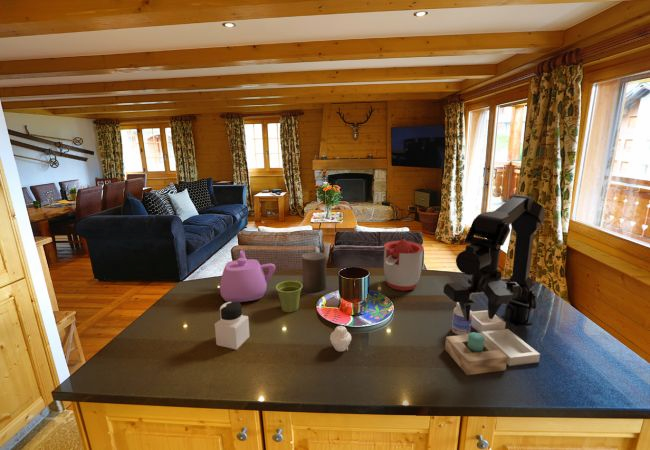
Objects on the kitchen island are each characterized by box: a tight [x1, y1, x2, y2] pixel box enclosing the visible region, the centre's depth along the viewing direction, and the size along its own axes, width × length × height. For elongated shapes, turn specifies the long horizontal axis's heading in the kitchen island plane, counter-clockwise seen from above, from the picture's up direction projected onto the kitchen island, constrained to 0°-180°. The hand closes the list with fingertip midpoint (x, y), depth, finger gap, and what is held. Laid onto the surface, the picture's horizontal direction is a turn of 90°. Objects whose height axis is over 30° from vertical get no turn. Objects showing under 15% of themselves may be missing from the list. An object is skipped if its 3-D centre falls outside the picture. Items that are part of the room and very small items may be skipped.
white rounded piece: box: [329, 325, 352, 352], centre depth 95 cm, size 6×6×7 cm
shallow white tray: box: [481, 328, 541, 367], centre depth 94 cm, size 9×12×2 cm
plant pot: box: [275, 280, 303, 313], centre depth 117 cm, size 9×9×9 cm
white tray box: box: [471, 309, 507, 333], centre depth 105 cm, size 8×8×4 cm
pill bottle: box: [451, 302, 473, 336], centre depth 102 cm, size 5×5×10 cm
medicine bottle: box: [214, 301, 250, 350], centre depth 98 cm, size 7×7×12 cm
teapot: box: [219, 249, 276, 303], centre depth 130 cm, size 23×21×15 cm
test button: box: [467, 331, 485, 353], centre depth 89 cm, size 4×4×4 cm
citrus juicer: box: [383, 238, 424, 292], centre depth 133 cm, size 16×17×20 cm
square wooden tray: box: [444, 333, 508, 376], centre depth 90 cm, size 11×11×4 cm
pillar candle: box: [301, 251, 327, 293], centre depth 133 cm, size 10×10×15 cm
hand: (478, 319), depth 87 cm, fingers open, 7 cm apart
